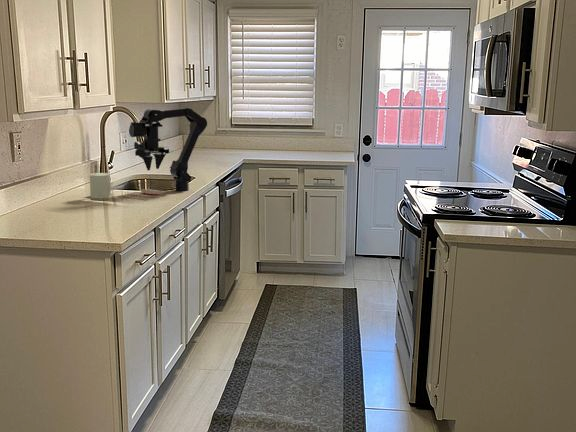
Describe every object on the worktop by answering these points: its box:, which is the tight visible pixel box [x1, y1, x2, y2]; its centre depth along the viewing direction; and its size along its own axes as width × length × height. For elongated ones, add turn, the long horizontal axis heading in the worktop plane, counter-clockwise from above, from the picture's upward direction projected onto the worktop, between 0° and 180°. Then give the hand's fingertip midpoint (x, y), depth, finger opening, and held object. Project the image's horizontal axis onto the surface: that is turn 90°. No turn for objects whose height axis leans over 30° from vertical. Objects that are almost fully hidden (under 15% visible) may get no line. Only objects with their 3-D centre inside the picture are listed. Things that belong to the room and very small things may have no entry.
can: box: [88, 172, 112, 202], centre depth 266 cm, size 9×9×12 cm
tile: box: [140, 188, 167, 195], centre depth 278 cm, size 2×8×9 cm
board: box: [115, 191, 167, 202], centre depth 270 cm, size 15×18×1 cm
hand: (153, 169), depth 275 cm, fingers open, 6 cm apart
